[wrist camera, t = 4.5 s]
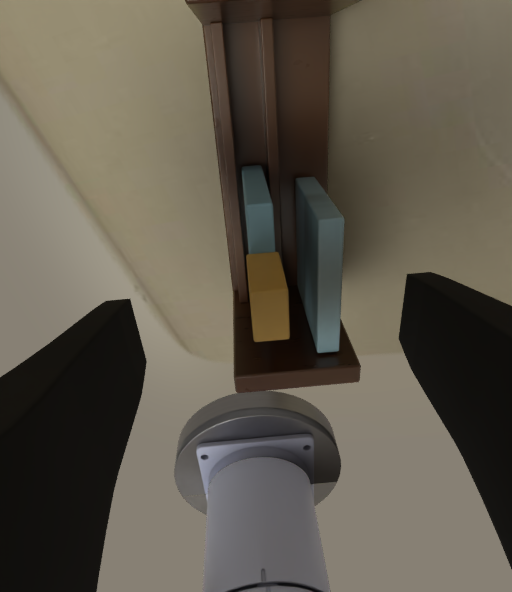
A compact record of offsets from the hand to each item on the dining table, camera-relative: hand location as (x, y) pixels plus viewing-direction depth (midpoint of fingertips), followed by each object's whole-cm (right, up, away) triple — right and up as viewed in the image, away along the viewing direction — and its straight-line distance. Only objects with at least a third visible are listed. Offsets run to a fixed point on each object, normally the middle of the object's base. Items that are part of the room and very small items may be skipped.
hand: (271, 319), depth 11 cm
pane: (0, +4, +6) cm, 7 cm away
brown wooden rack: (0, +6, +7) cm, 9 cm away
